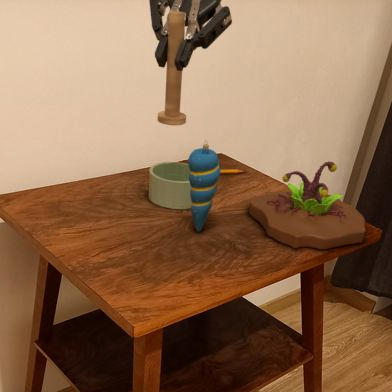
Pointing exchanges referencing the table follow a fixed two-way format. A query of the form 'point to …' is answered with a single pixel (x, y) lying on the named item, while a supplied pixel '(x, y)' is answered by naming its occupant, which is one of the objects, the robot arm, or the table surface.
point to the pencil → (230, 171)
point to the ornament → (202, 182)
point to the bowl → (170, 185)
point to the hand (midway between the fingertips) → (169, 65)
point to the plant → (308, 215)
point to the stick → (173, 72)
